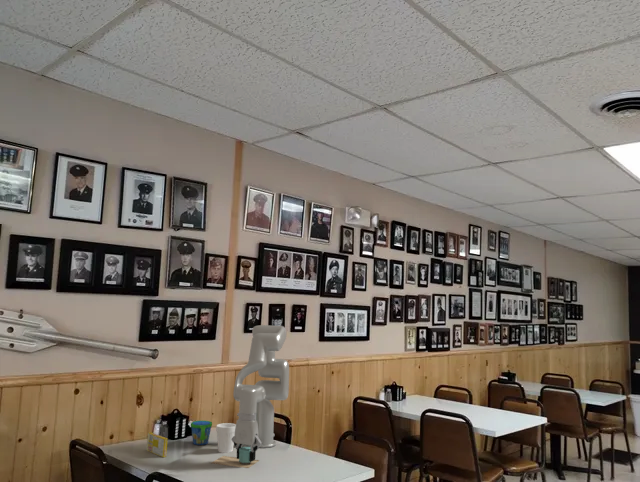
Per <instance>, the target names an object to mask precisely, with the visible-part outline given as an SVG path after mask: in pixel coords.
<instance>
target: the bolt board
mask: <svg viewBox="0 0 640 482" xmlns="http://www.w3.org/2000/svg"><path fill="white" fill-rule="evenodd" d="M260 461H261V460H260V459H255V460H254V461H252V462H249V463H242V462H239V459H237V456H229V455H228V456H227V455H222V456H220V457H219V458H217V459H215V460H213V461H212V462H210V464H211V465H212V464H214V465H220V466H227V467H237V468H242V469H243V468H244V469H250V468H251V467H252V466H254V465H255V464H257V463H258V462H260Z"/></svg>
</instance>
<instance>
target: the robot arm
mask: <svg viewBox="0 0 640 482" xmlns="http://www.w3.org/2000/svg"><path fill="white" fill-rule="evenodd" d="M251 333H252V339H251V344H250V351H249V356H248V362H247V364H245V365H244V366H243V367H242V368H241V369H240V371H238V373H237V374H236V377H235V381H234V387H233V399H234V400H235V402H239V404H238V405H239V406H238V407H239V408H238V409H239V411H238V412H237V416H238V419H236V423H235V424H236V427H235V435H234V437H233V438H232V439H231V440H232V441H233V443H234V446H235V450H236V457H237V459H239V448H241V447H243V445H244V446H247V447H250V449H251V452H250V462H252V461H254V460H256V452H257V451H258V449H259V448H263V449H266V448H272V447H275V446H276V445H277V441H276V440H274V437H275V433H274V428H275V427H274V426H275V425H274V422H275V407H274V405H273V403H272V402H271V401H285V400H286V401H287V399H288V397H289V390H290V389H289V388H290V364H289V361H288V360H286V359H284V358H276V352H279V351H281V349H282V348H283V345H284V344H285V341H286V340H287V329H286V327H285V326H284V325H271V324H270V325H269V324H268V325H267V324H265V325H264V324H263V325H262V324H261V325H255V326H253V327H252V332H251ZM256 372H257V373H258V376H260V377H261V378H265V379H264V380H263V379H262V380H258V381H257V382H255V384H243V382H244V380H245V379H246V377H248V376H249V375H252V374H253V373H256ZM266 378H267V379H266ZM268 378H269V379H270V380H269V379H268ZM271 379H273V380H271ZM274 379H279V380H274Z"/></svg>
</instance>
